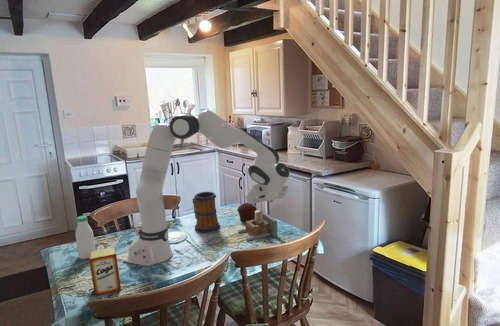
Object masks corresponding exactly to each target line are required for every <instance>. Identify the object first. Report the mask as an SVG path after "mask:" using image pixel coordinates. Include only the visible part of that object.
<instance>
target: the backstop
mask: <svg viewBox="0 0 500 326" xmlns="http://www.w3.org/2000/svg"><path fill="white" fill-rule="evenodd" d="M260 210H261V211H262V217H263V219H264V220H266V221H267V222H268V223H270V232H268V233H264V234H260V235H256V236H247V237H246V238H245V241H252V240H255V239H260V238H264V237H269V236H272V237H273V238H277V237H278V220H277V219H275V218H274V217H273V216H271V215H269V214H268V213H267V212H265V211H264V210H263V209H260ZM237 232H238V234H242V233H247V232H246V228H242V229H238V231H237Z"/></svg>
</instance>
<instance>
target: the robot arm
mask: <svg viewBox="0 0 500 326" xmlns="http://www.w3.org/2000/svg"><path fill="white" fill-rule="evenodd" d="M198 133H199V134H201V135H203V137H205V138H207V139H208V140H209V142H211V143H212V144H213V145H214V146H216V147H217V148H220V149H227V148H230V147H232V146H235V145H238V144H241V145H244V146H246V147H247V148H249V150H251V151H253V153H255V154H256V157H255V158H254V160H252V162H251V163H250V165H249V167H248V170H247V173H248V175H249V177H250V179H252V180H253V181H254V182H255V183H256V184H253V185H252V186H251V189H250V190H249V191H248V193H247V195H246V197H245V198H246V203H249V204H252V205H253V206H256V205H257V203H262V202H269V204H271V203H273V202H274V201H276V200H279V199H284V198H285V196H286V194H287V192H288V189H289V186H288V185H286V184H287V182H288V180H289V178H290V169H289V167H288V166H287V165H286V164H285V163H282V162H280V156H279V153H278V151H276V150H275V149H274V148H273V147H271V146H269V145H267V144H265V143H264V142H262V141H261V140H259V139H258V138H257V137H255V136H254V135H252V134H251V133H249V132H248V131H246V130H245V129H243V128H241V127H234V126H232V125H231V124H229V123H228V122H227V121H226V120H224V119H223V118H222V117H221V116H219V115H218V114H216V113H215V112H213V111H212V110H210V109H205V110H202V111H200V112H199V113H198V114H197V115H195V116H194V115H193V114H191V113H188V112H187V113H185V112H182V113H179V114H176V115H174V116H173V117H172V118H171V120H170V122H169V123H165V122H158V123H156V124H154V126H153V128H152V129H151V132H150V133H149V134H150V135H149V138H148V141H147V144H146V149H145V153H144V158H143V162H142V167H141V173H140V178H139V181H138V184H137V186H136V190H135V196H136V201H137V207H138V210H139V214H140V223H141V228H140V229H138V232H137V233H136V235H137V236H138V235H139V236H138V237H137V238H135V240H134V241H133V242H131V243H130V245H129V246H128V251H127V252H126V254H125V255H124V257H123V262H124V263H128V264H129V263H130V264H134V265H135V264H136V265H139V266H145V267H150V266H154V265H156V264H159V263H164V262H165V261H167V260H170V259H171V258H172V256H173V255H174V254H173V250H172V247H171V245H170V240H169V230H168V228H169V227H168V225H167V218H166V210H165V204H164V197H163V191H164V190H163V189H164V184H165V181H166V180H165V179H166V176H167V173H168V169H169V165H170V161H171V156H172V152H173V148H174V145H175V141H177V139H180V140H186V139H189V138H191V137H192V136H194V135H195V134H198Z"/></svg>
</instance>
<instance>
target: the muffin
mask: <svg viewBox="0 0 500 326" xmlns="http://www.w3.org/2000/svg"><path fill="white" fill-rule="evenodd" d="M236 210H237V212H238V215H239V220H240V222H243V223H246V221H250V220H255V211H256V210H258V209H257V206H256V205H255V206H253V205H252V204H249V203H248V202H243V203H242V204H240V205H239V206H238V207H237V209H236Z"/></svg>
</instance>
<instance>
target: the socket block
mask: <svg viewBox="0 0 500 326" xmlns="http://www.w3.org/2000/svg"><path fill="white" fill-rule="evenodd" d="M245 229H246V232H245V233H247V234H248V236H249V237H251V236H256V235H260V234H264V233H268V232H270V223H268V222H267V221H266V220H264V219H263V224H259V225H255V220H250V221H246V222H245Z"/></svg>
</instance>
